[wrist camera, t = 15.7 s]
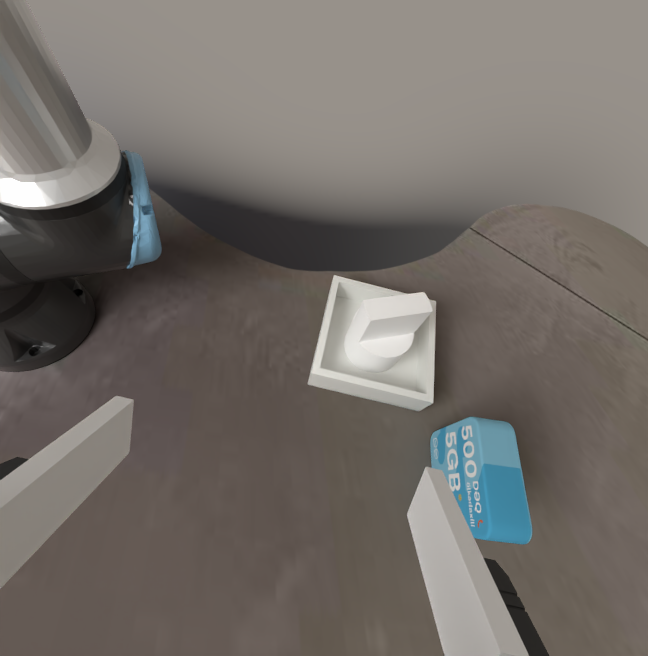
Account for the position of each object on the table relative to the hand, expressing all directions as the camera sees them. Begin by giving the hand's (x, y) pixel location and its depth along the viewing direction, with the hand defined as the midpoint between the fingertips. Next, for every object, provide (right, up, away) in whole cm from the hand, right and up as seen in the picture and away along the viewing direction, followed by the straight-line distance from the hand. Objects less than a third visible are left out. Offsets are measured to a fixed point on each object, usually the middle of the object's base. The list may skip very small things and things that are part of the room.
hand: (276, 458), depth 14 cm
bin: (+10, +3, +37) cm, 38 cm away
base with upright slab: (+10, +3, +36) cm, 38 cm away
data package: (+19, -15, +29) cm, 38 cm away
